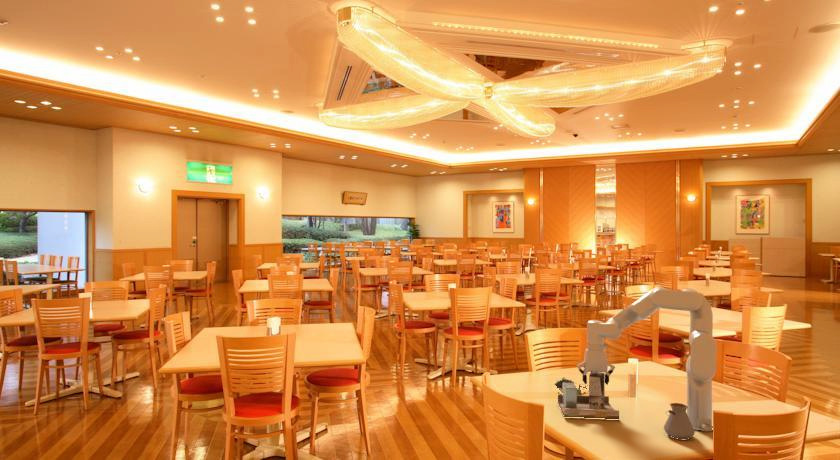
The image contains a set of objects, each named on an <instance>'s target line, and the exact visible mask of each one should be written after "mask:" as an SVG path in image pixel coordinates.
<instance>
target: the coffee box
mask: <svg viewBox="0 0 840 460" xmlns="http://www.w3.org/2000/svg"><path fill="white" fill-rule="evenodd" d="M588 385H589V391H588V396H589V409H604V407H605V396H606V393H605V372H589V375H588Z"/></svg>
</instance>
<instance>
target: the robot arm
mask: <svg viewBox="0 0 840 460" xmlns="http://www.w3.org/2000/svg"><path fill="white" fill-rule="evenodd" d="M660 309H666V310H673V311H674V310H676V311H686V312H689V317H690V323H689V325H690V326H689V336H688V343H689V346H690V355H689V356H688V357H687V358H686V362H685V371H686V406H687V407H688V408H687V409H686V413H687V415H688V418H689V420H690V422H691V424H692V426H693V429H694V431H698V430H701V431H700V432H713V431H712V428H713V426H712V423H713V380H712V379H713V378H714V377H715V374H716V368H717V351H718V349H717V348H718V347H717V342H716V339H715V338H714V337H713V323H714V321H713V320H714V319H713V317H714V316H713V311H712V307H711V305H710V303H709V300H708V299H706V297H705V296H704V295H703V294H702V293H700V292H698V291H697V290H695V289H692V288H689V287H688V288H684V289H682V290H677V289H676V290H675V289H674V290H673V289H668V288H666V287H664V286H656V287H654V288H652V289H651V290H649V291H647V292H646V293H645V294H644V295H642V296H641V297H640V298H638V299H637V300H636V301H633V302H632V303H631V304H630V305H628V306H627V307H626V308H624V309H621V310H620V311H619V312H618V313H616V314H615V315H613V316H612V317H610V318H609V319H608V320H607V321H606V322H603V321H602V320H598V319H591V320H588V321H587V323H586V335H587V336H586V342H587V343H586V347H587V348H585V350H584V356H583V357H584V358H583V361H582V362H581V363H578V364H576V368H577V370H578V372H579V373H581V374H582V382H583V383H584V385H587V384H588V381H587V380H588V377H587V376H588V373H591V372H601V373H604V384H605V385H609V383H610V376H611V375H612V374H613V372H614V371H615V369H616V366H615V365H614V364H612V363H609V362H608V357H607V351H606V349H607V348H608V344H605V338H606V339H611V340H616V339H619V338H620V337H621V335H622V331H624V330H625V329H627V328H628V327H630V326H631V325H632V324H634V323H637V322H642V321H644V320H646V319H647V318H649V317H650V316H651V315H653V314H654V313H656V312H657V311H658V310H660ZM582 367H583V368H584V369H582ZM608 367H609V368H610V369H609V368H608ZM608 369H609V370H608Z"/></svg>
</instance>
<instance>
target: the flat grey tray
mask: <svg viewBox="0 0 840 460" xmlns="http://www.w3.org/2000/svg"><path fill="white" fill-rule="evenodd" d="M558 404H559V406H560V408H561V410H562V412H561V414H562V413H563V414H562V416H563V415H564V416H563V418H564V417H584V418H605V419H619V420H620V410H619V409H615V408H614V407H613V406H612V405H611V404H610V396H609V395H605V407H604V409H589V395H585V394H582V395H577V409H574V408H564V406H563V395H561V394H557V405H558ZM559 406H558V407H559ZM560 408H559V409H560ZM561 410H560V411H561Z"/></svg>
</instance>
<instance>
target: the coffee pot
mask: <svg viewBox="0 0 840 460" xmlns="http://www.w3.org/2000/svg"><path fill="white" fill-rule="evenodd" d="M669 407H671V410H670V409H669V410H666V411H665V413H667V412H668V413H669V414H668V417H667V419H666V421H665V423H664V426H663V430H664V432H665V433H666V434H667V435H668V436H669V435H670V436H672V437H674V438H678V439H688V438H690V439H691V438H692V437H693V436H694V435H695V433H696V430H694V429H693V426H692V424H691V422H690V420H689V418H688V415H687V408H688V407H687V404H683V403H679V402H673V403H669ZM670 436H669V437H670ZM672 437H671V438H672ZM674 438H673V439H674ZM678 439H677V440H678ZM688 440H689V439H688Z"/></svg>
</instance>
